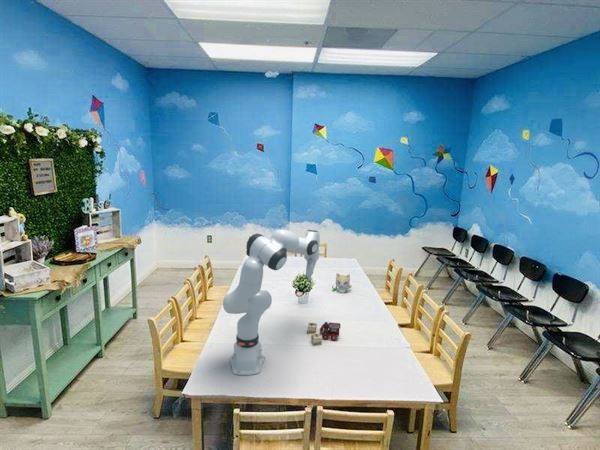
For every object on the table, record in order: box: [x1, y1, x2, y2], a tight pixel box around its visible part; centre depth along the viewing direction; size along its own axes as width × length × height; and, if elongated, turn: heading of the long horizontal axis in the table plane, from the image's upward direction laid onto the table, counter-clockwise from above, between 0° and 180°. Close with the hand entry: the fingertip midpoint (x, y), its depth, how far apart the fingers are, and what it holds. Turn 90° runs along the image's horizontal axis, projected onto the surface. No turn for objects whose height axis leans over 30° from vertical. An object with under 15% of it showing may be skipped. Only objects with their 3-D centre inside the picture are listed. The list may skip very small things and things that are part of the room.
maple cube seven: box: [307, 322, 318, 335], centre depth 238 cm, size 5×5×5 cm
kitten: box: [331, 272, 353, 294], centre depth 299 cm, size 15×10×15 cm, turn 76°
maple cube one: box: [310, 332, 323, 347], centre depth 225 cm, size 5×5×5 cm
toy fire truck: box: [319, 321, 341, 342], centre depth 231 cm, size 7×12×10 cm, turn 80°
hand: (310, 276), depth 234 cm, fingers open, 8 cm apart
